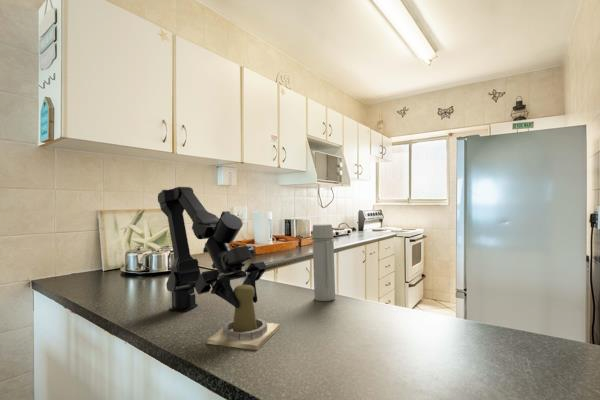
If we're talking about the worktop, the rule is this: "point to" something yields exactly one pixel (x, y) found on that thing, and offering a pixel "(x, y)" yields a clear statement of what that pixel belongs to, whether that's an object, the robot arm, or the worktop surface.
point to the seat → (244, 335)
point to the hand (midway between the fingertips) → (247, 304)
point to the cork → (244, 309)
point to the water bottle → (323, 262)
